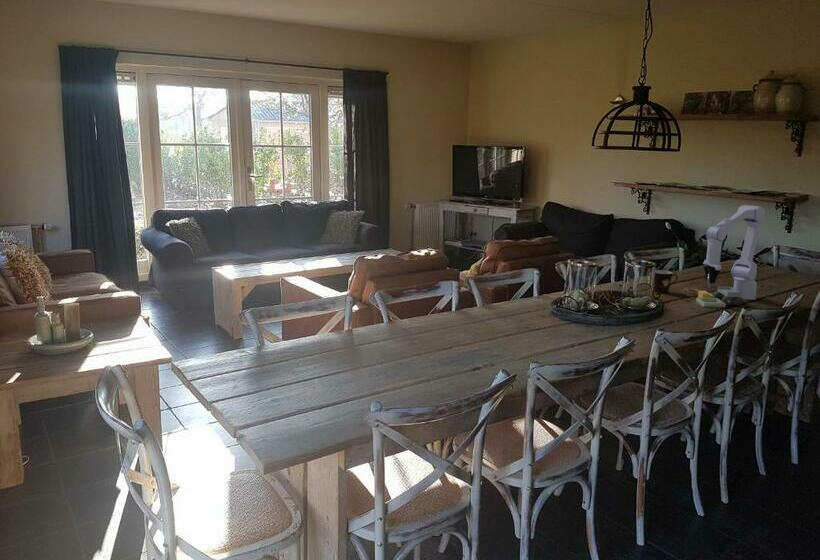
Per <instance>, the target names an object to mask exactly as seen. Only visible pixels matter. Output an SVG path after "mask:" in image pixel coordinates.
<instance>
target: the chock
mask: <svg viewBox="0 0 820 560" xmlns="http://www.w3.org/2000/svg"><path fill="white" fill-rule="evenodd" d="M697 298H714V294H712V293H711V292H710V293H709V292H708V291H706V290H700V291H699V292H698V297H697Z"/></svg>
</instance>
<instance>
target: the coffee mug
mask: <svg viewBox="0 0 820 560" xmlns="http://www.w3.org/2000/svg"><path fill="white" fill-rule="evenodd" d="M654 271H655V277H654V276H653V285H654V286H653V287H654V288H655V292H654V293H656V292H657V293H658V294H668V293H669V290H670V286H672V285H673V284H675V283H676V282H677V280H678V279H679V278H678V277H679V276H678V274H675V273H673V272H672V271H670V270H662V269H657V270H654ZM673 276H675V277H676V278H675V280H674V281H672V278H673ZM671 281H672V282H671ZM654 288H653V289H654ZM657 293H656V294H657Z"/></svg>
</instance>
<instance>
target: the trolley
mask: <svg viewBox="0 0 820 560" xmlns="http://www.w3.org/2000/svg"><path fill="white" fill-rule="evenodd" d="M716 290H717V291H715V292H714V293H713V298H718V299H719V300H721V301H723V302H724V303H726V306H730V305H732V304H734V305H735V306H737V307H739V306H741V305H743V303H744V299H743V298H741V292H740V291H738V290H736V289H734V288H733V287H732V286H717V289H716Z"/></svg>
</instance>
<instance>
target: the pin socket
mask: <svg viewBox="0 0 820 560" xmlns="http://www.w3.org/2000/svg"><path fill="white" fill-rule="evenodd" d="M699 291H701V290H700V289H698V288H683V289H682V294H684V295H685V296H687V297H696V298H698V292H699Z"/></svg>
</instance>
